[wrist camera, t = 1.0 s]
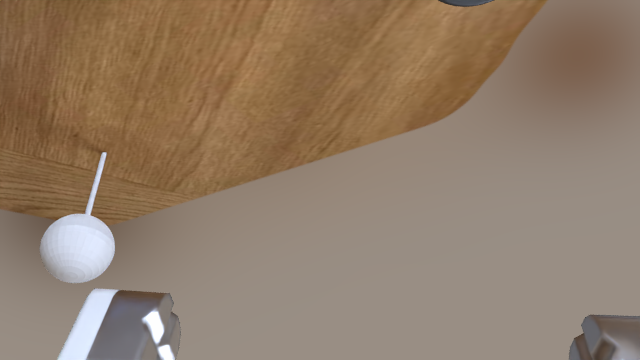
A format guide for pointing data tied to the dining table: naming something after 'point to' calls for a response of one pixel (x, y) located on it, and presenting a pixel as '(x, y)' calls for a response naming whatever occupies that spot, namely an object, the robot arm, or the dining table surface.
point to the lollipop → (78, 243)
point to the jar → (465, 2)
